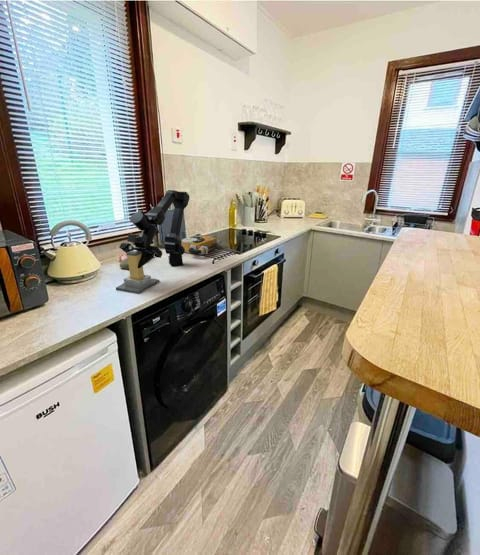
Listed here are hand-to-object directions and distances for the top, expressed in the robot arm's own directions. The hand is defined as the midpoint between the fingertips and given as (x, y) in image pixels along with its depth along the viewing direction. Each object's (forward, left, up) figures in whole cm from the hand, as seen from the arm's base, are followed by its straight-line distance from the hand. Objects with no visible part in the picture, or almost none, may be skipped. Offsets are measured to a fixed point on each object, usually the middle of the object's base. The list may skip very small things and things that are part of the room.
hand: (133, 267), depth 116 cm
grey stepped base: (-1, -1, -9) cm, 9 cm away
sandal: (-3, -38, -10) cm, 39 cm away
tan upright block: (-1, -1, -7) cm, 7 cm away
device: (-40, -44, -9) cm, 61 cm away
